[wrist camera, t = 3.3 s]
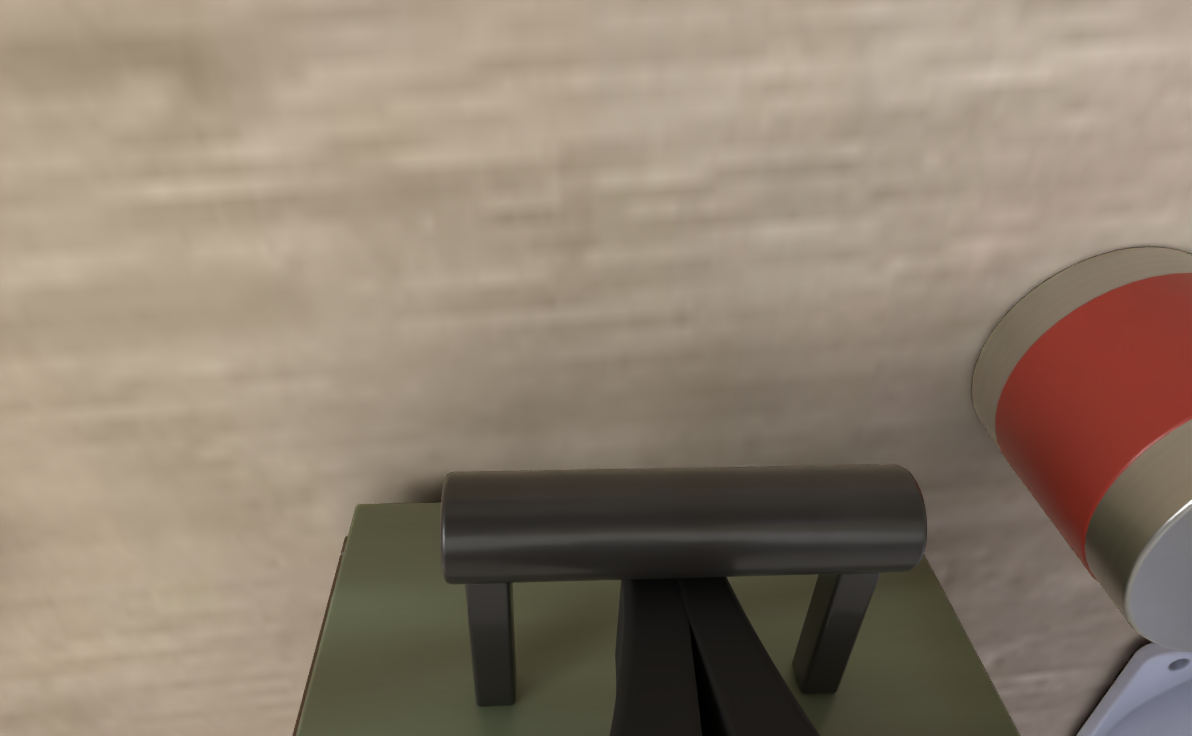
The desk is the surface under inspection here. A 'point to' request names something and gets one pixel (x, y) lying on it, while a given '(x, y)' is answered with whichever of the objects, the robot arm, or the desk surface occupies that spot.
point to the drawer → (592, 591)
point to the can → (1106, 423)
